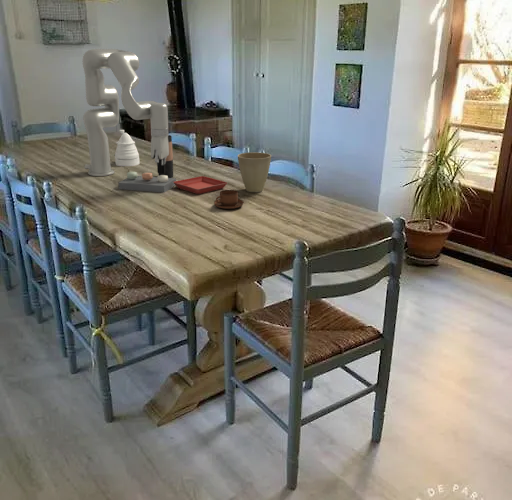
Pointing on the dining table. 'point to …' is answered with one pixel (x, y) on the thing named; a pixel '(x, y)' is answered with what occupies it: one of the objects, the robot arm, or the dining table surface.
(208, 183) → the plant saucer
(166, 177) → the cream button
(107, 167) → the robot arm
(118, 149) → the honey pot
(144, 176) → the terracotta button
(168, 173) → the travel mug
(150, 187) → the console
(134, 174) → the sage button
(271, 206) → the dining table surface
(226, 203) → the cup and saucer
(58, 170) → the dining table surface
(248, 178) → the plant pot
